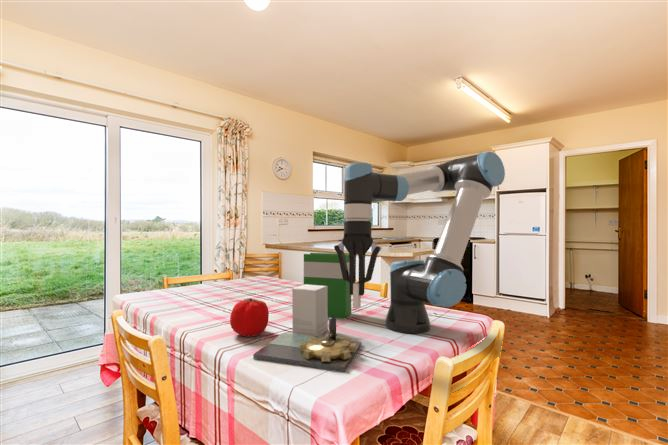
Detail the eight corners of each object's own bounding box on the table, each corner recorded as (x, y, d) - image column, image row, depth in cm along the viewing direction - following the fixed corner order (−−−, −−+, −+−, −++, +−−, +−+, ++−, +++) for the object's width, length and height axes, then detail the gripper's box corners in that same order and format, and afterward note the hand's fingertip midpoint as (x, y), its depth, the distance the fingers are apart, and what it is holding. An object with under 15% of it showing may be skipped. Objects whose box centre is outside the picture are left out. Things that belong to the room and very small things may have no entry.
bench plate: (361, 345, 94) (361, 341, 94) (344, 372, 77) (344, 366, 77) (284, 336, 102) (284, 332, 102) (253, 358, 85) (253, 353, 85)
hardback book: (303, 314, 129) (303, 254, 129) (310, 309, 136) (311, 252, 136) (345, 318, 123) (345, 255, 123) (351, 313, 130) (351, 253, 130)
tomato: (232, 343, 96) (232, 304, 96) (227, 330, 108) (228, 295, 109) (272, 337, 101) (273, 300, 101) (264, 326, 113) (264, 293, 114)
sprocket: (347, 365, 78) (347, 333, 78) (290, 357, 82) (290, 327, 82) (361, 343, 92) (361, 317, 92) (312, 338, 96) (312, 312, 96)
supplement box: (328, 330, 109) (328, 285, 109) (316, 338, 101) (316, 290, 101) (305, 326, 113) (305, 283, 113) (291, 334, 105) (291, 287, 105)
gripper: (383, 220, 90) (382, 306, 89) (339, 220, 94) (337, 302, 93) (379, 219, 83) (378, 312, 82) (330, 219, 87) (329, 308, 86)
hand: (356, 307), depth 88 cm, fingers closed
